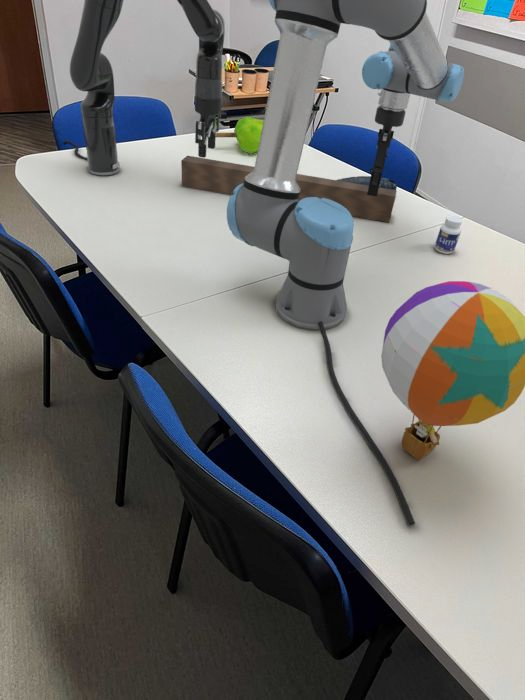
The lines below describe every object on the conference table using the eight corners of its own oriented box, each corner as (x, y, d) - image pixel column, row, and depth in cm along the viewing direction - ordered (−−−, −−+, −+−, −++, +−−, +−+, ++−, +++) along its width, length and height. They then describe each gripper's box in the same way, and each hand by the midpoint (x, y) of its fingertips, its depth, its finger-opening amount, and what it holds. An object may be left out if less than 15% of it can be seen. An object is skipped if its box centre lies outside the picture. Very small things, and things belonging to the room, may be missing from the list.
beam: (390, 216, 155) (396, 190, 150) (389, 222, 151) (395, 196, 146) (187, 180, 165) (187, 155, 160) (181, 186, 161) (181, 160, 156)
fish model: (395, 199, 165) (399, 183, 162) (329, 192, 166) (332, 176, 163) (393, 191, 171) (397, 176, 168) (330, 185, 172) (332, 169, 169)
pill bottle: (433, 251, 139) (442, 220, 133) (435, 243, 143) (444, 213, 137) (453, 256, 138) (464, 225, 132) (454, 247, 142) (465, 217, 136)
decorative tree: (200, 113, 191) (280, 113, 196) (201, 142, 197) (278, 141, 203) (205, 127, 177) (291, 126, 183) (206, 158, 184) (288, 156, 189)
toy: (330, 441, 84) (367, 281, 65) (404, 391, 94) (454, 241, 75) (431, 526, 73) (512, 363, 54) (502, 459, 83) (589, 303, 64)
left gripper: (204, 86, 152) (202, 143, 162) (186, 97, 141) (186, 157, 151) (228, 91, 151) (225, 147, 161) (213, 102, 140) (211, 162, 150)
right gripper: (381, 96, 146) (365, 171, 159) (373, 115, 127) (356, 199, 139) (407, 100, 145) (389, 176, 158) (404, 120, 125) (384, 205, 138)
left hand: (206, 152), depth 156 cm, fingers open, 8 cm apart
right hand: (373, 187), depth 149 cm, fingers open, 13 cm apart
